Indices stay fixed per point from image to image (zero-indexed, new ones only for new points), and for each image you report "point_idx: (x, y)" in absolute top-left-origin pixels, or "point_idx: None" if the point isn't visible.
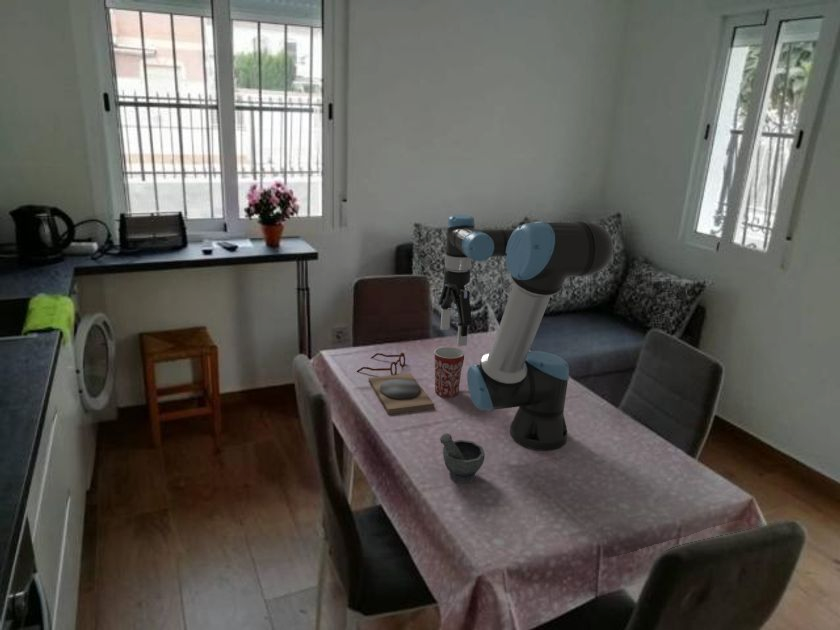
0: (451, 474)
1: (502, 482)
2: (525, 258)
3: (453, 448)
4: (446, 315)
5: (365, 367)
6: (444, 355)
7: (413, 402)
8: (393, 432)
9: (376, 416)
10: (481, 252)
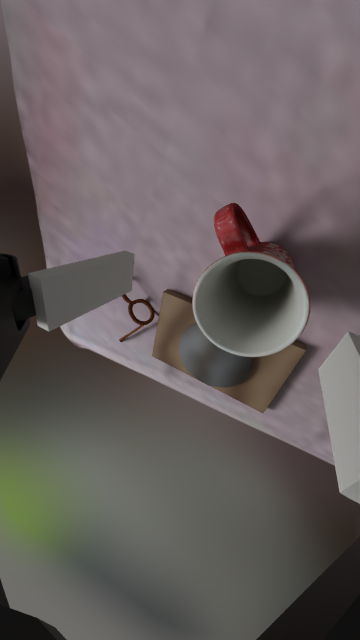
0: None
1: None
2: None
3: None
4: (78, 293)
5: (122, 339)
6: (212, 285)
7: (270, 372)
8: (322, 442)
9: (258, 419)
10: None
